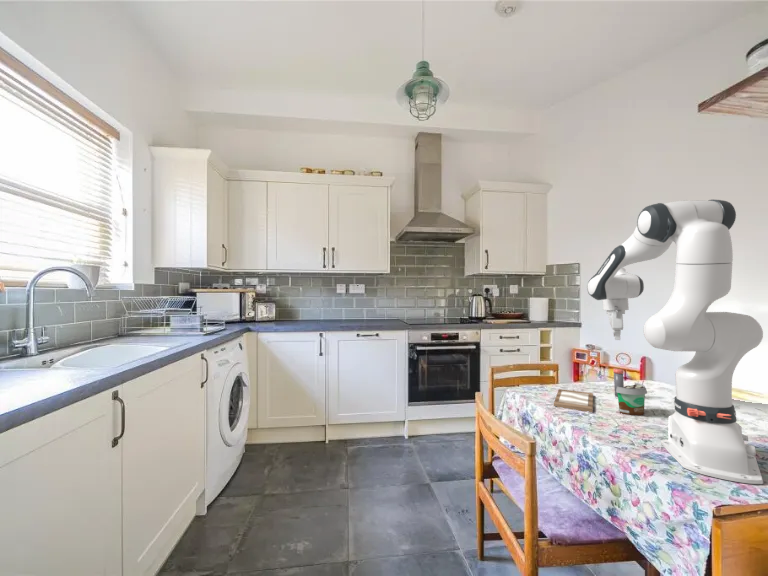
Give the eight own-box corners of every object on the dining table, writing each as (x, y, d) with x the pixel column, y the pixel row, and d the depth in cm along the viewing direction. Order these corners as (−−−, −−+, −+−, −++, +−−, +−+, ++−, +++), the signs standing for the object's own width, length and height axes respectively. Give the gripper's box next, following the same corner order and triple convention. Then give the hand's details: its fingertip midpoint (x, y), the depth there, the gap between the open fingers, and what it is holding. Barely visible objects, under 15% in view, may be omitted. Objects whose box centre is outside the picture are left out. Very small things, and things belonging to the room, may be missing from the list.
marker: (624, 399, 133) (623, 370, 133) (614, 398, 134) (613, 369, 135) (624, 397, 135) (622, 369, 136) (614, 396, 137) (613, 368, 138)
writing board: (592, 412, 120) (592, 408, 120) (553, 406, 127) (553, 403, 127) (592, 395, 138) (592, 392, 138) (558, 391, 146) (558, 388, 146)
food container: (635, 419, 112) (634, 391, 113) (617, 413, 118) (615, 386, 118) (655, 413, 117) (654, 386, 118) (636, 408, 123) (635, 382, 123)
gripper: (626, 306, 125) (628, 342, 125) (622, 304, 142) (624, 335, 142) (607, 307, 129) (608, 341, 129) (605, 304, 146) (607, 335, 146)
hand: (616, 338), depth 135 cm, fingers open, 8 cm apart
